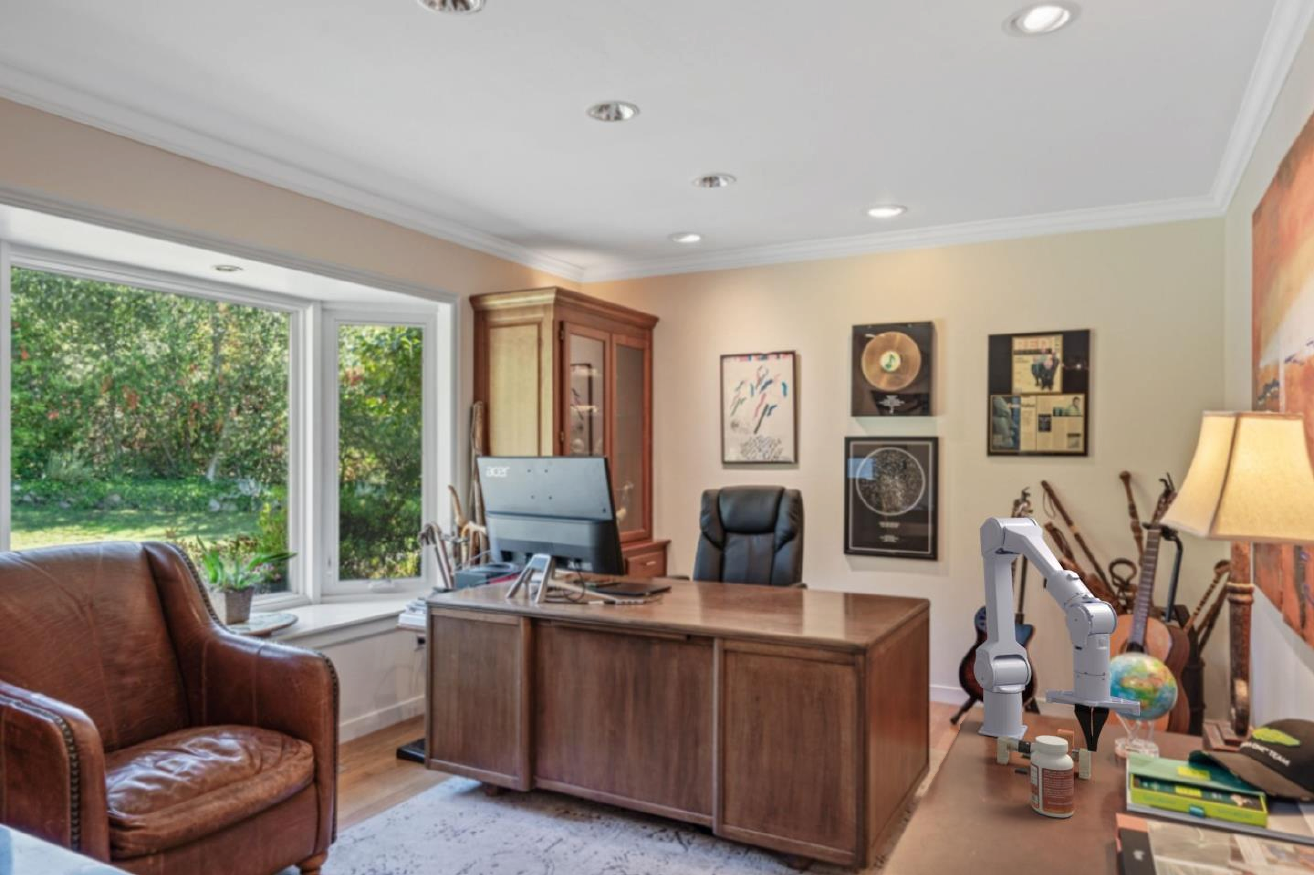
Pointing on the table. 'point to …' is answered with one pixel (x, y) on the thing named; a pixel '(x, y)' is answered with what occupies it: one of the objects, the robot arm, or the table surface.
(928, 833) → the table surface
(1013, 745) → the pipe rail
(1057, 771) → the pill bottle
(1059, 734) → the upright terracotta block
